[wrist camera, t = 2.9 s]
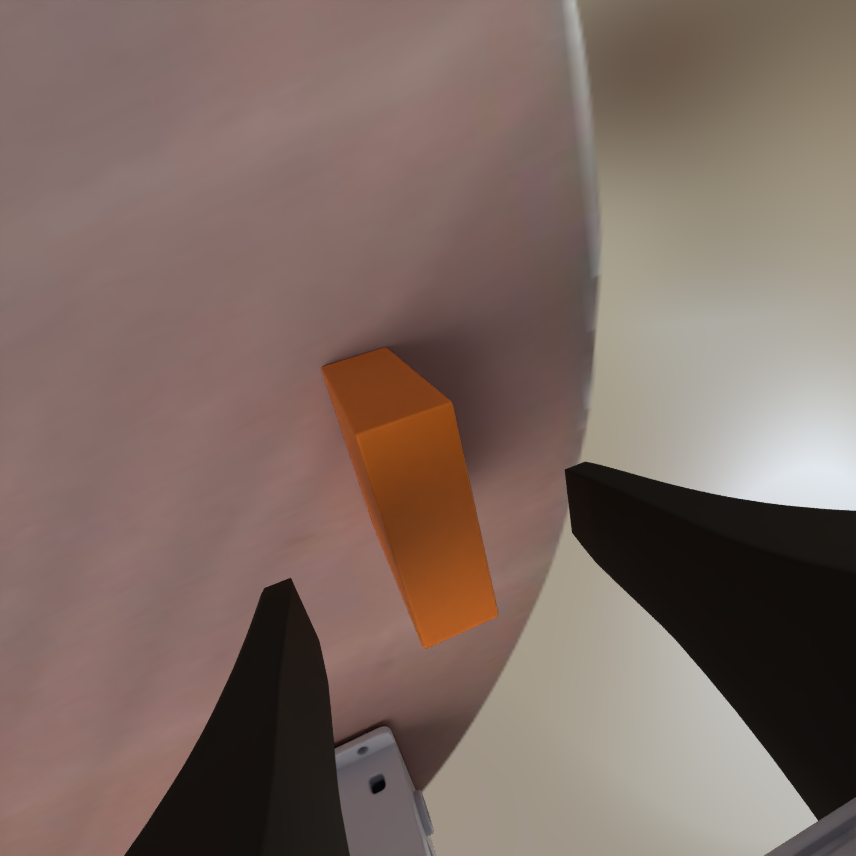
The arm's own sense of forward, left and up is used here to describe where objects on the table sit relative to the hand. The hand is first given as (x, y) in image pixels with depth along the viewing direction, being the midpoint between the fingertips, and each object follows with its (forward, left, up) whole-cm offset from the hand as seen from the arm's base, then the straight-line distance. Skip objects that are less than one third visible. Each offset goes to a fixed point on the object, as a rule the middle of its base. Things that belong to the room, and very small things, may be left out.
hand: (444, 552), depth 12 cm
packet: (0, 0, -7) cm, 7 cm away
